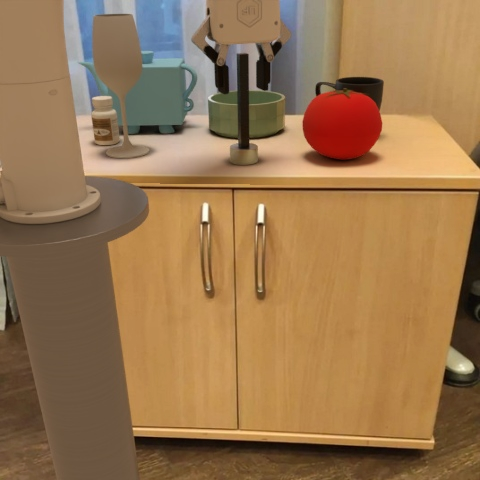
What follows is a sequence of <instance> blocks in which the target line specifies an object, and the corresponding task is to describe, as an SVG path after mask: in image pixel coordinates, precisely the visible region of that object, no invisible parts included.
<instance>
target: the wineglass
mask: <svg viewBox="0 0 480 480" xmlns="http://www.w3.org/2000/svg"><path fill="white" fill-rule="evenodd" d="M91 33H92V34H91V36H92V39H91V41H92V47H91V48H92V49H91V50H92V63H94V68H95V71H96V73H97V75H98V77H99V79H100V80H101V81H102V82H103V83H104V84H105V85H106V86H107V87H108V88H109V89H111V90H112V91H113V92H114V93H116V94H117V96H118V97H119V100H120V105H121V114H122V123H123V126H122V131H123V142H122V143H121V145H119V146H114V147H111V148H109V149H107V150H106V152H105V154H106V156H107V157H110V158H113V159H114V158H115V159H133V158H139V157H143V156H145V155H147V154H149V153H150V148H148V147H147V146H144V145H137V144H135V145H134V144H132V142H131V141H130V136H129V134H128V128H127V119H126V110H125V97H126V94H127V93H128V92H129V91H130V90H131V89H132V87H133V86H134V85H135V84H136V83H137V81H138V79H139V78H140V76H141V72H142V53H141V51H142V48H141V43H140V39H139V34H138V29H137V25H136V22H135V18H134V14H132V13H103V14H101V13H100V14H94V15H93V16H92V32H91Z"/></svg>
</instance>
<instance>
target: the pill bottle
mask: <svg viewBox="0 0 480 480" xmlns="http://www.w3.org/2000/svg"><path fill="white" fill-rule="evenodd" d="M91 102H92V103H91V104H92V107H93V108H94V109H93V110H92V112H91V113H90V114H91V115H90V116H91V123H92V130H93V138H94V143H95V144H97V145H99V146H113V145H116V144H118V143H120V141H121V139H120V129H119V126H118V119H117V112H116V111H115V110H114V109H112V106H113V100H112V97H111V96H102V95H99V96H98V95H97V96H93V97H92V98H91Z"/></svg>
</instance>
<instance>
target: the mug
mask: <svg viewBox="0 0 480 480" xmlns="http://www.w3.org/2000/svg"><path fill="white" fill-rule="evenodd" d="M384 81H385V80H383V79H381V78H377V77H371V76H370V77H369V76H345V77H340V78H338V79H335V83H334V82H330V81H319V82H317V83H316V84H315V89H314V91H315V97H317V96H318V95H320V94H322V91H321V87H322V85H323V86H328V87H330V88H332V89H334V91H335V90H337V91H343V88H347V90H353V92H358V93H364V95H366V96H368V97H370V98H371V99H372V100H373V101H374V102H375V103H376V105H377V107H378V109H379V112H380V113H381V107H382V102H383V95H384V87H385V82H384ZM369 94H370V95H369Z"/></svg>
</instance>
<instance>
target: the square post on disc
mask: <svg viewBox="0 0 480 480" xmlns="http://www.w3.org/2000/svg"><path fill="white" fill-rule="evenodd" d="M249 56H250V55H249V53H247V52H238V53H236V91H237V106H238V138H237V142H236V143H233V144H230V146H229V161H230V163H231V164H234V165H237V166H249V165H250V166H251V165H253V164H256V163H258V161H259V146H258V145H257V144H256V143H252V142H250V138H249V90H250V61H249V59H250V57H249Z"/></svg>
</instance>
